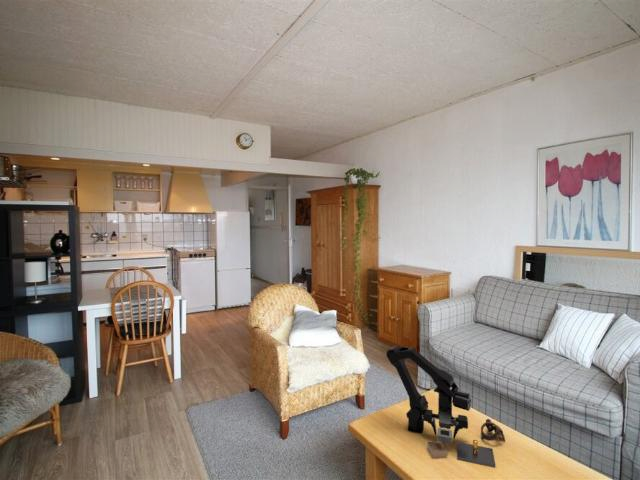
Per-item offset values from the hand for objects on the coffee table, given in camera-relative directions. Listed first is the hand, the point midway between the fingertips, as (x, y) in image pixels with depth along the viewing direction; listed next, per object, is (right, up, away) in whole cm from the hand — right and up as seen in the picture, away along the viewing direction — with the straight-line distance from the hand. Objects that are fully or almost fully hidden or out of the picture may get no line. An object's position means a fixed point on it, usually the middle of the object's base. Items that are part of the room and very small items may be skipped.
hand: (444, 436), depth 157 cm
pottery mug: (+21, -1, +1) cm, 21 cm away
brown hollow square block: (-6, -2, -9) cm, 11 cm away
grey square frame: (0, -1, 0) cm, 1 cm away
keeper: (+9, -2, -11) cm, 14 cm away
